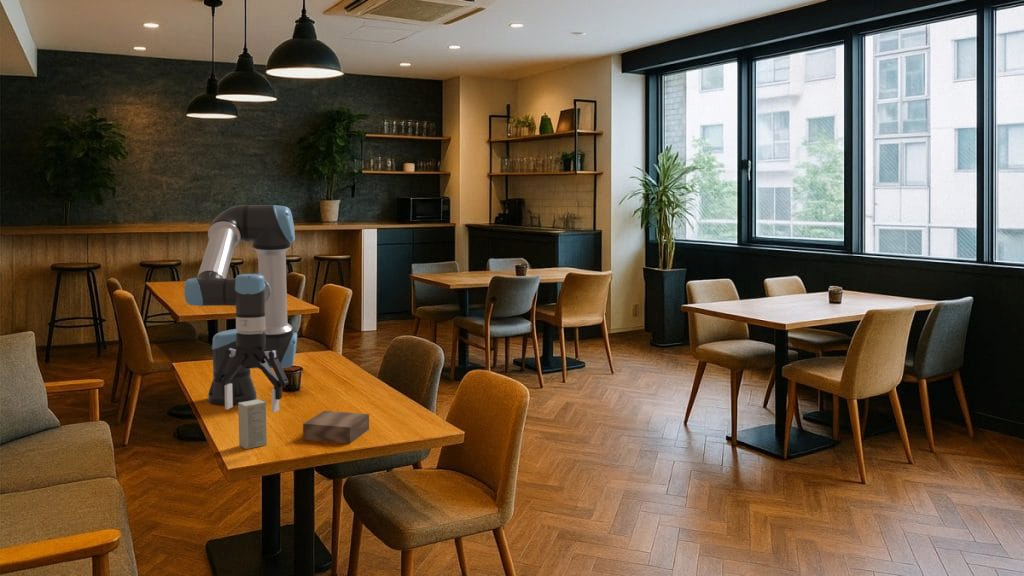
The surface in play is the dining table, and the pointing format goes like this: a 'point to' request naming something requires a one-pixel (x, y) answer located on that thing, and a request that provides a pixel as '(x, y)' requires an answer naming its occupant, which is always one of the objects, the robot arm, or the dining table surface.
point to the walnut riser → (336, 427)
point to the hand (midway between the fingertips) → (252, 409)
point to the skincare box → (252, 423)
